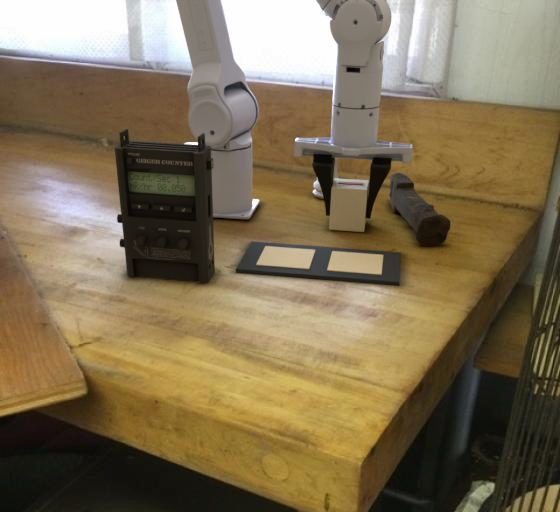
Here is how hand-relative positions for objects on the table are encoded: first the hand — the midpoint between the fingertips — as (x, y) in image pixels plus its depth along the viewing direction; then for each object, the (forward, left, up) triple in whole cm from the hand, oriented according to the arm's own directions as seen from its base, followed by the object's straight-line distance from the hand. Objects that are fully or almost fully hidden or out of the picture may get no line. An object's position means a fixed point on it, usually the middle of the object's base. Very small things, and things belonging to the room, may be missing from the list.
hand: (348, 215), depth 91 cm
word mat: (-2, -14, -1) cm, 14 cm away
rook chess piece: (-4, +13, -2) cm, 14 cm away
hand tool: (+8, +3, -2) cm, 8 cm away
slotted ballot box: (0, 0, -1) cm, 1 cm away
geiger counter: (-18, -21, -2) cm, 28 cm away
